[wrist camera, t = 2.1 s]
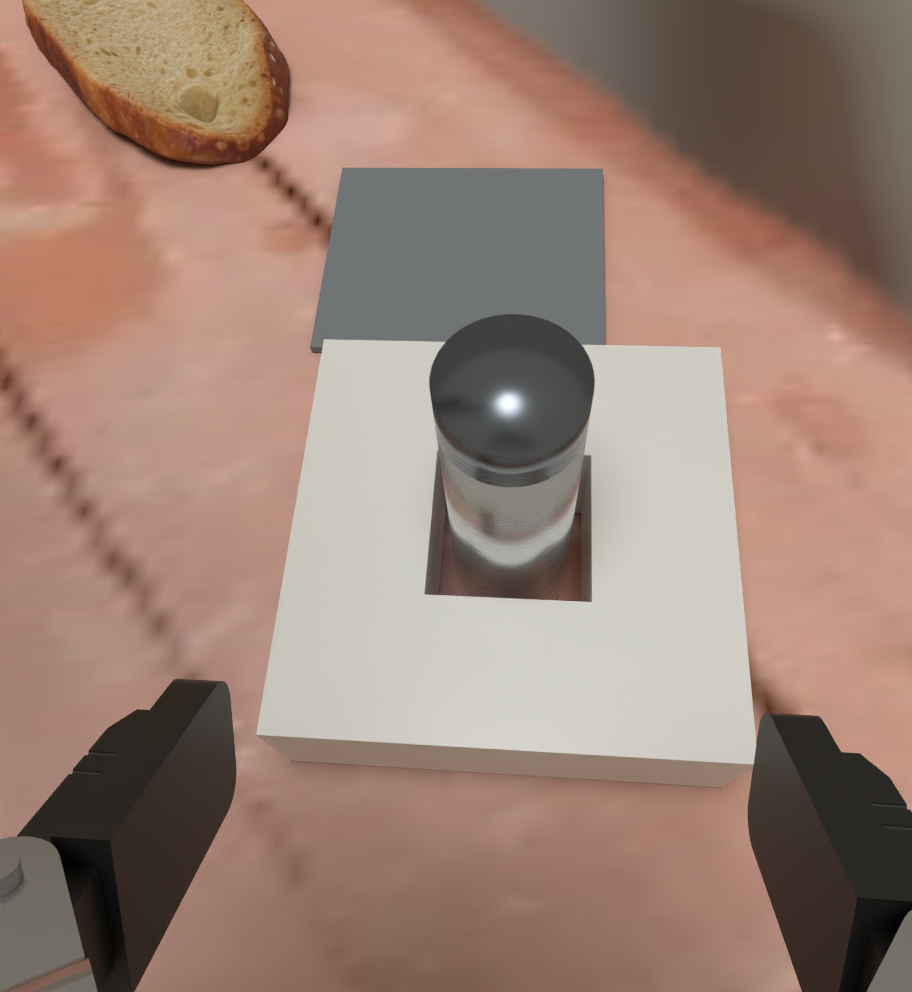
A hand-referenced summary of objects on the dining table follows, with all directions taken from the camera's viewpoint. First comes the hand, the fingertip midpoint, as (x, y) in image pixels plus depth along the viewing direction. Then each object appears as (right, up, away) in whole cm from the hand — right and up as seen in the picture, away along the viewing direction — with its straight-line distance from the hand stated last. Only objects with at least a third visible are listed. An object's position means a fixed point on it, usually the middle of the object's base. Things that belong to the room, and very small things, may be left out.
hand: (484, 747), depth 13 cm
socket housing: (+2, +1, +22) cm, 22 cm away
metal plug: (+2, +1, +22) cm, 22 cm away
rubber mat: (0, +16, +30) cm, 34 cm away
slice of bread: (-19, +30, +39) cm, 52 cm away
